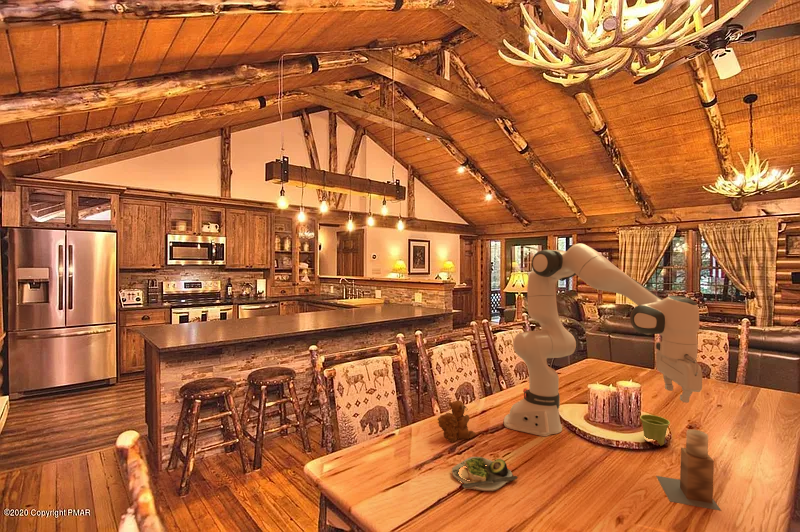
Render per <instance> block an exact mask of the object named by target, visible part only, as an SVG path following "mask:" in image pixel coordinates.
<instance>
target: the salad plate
mask: <svg viewBox="0 0 800 532" xmlns="http://www.w3.org/2000/svg"><path fill="white" fill-rule="evenodd" d="M485 465H487V466H485ZM463 466H466V467H467V468H468V469H467V468H466V469H467V475H468V479H469V478H470V481H467V480H465V479H466V478H465V479H463V478H464V477H463V478H461V477H460V476H459V474H458V472H459V469H460V468H461V467H463ZM451 475H452V477H453V478H454V479H456V481H458V480H459V481H461V482H462V483H464V484H462V483H461V484H462V486H461V487H462V488H463V489H467V490H470V489H471V490H475V489H476V490H477V491H483V492H485V491H486V492H493V491H497V490H499V489H500V488H502V487H503V486H505V485H507V484H509V483H510V482H512V481H515V480H517V479H518V478H519V476H518V475H514V474H513V472H512V470H511V469H509V468H508V465H507V463H506V461H505V460H503V459H501V458H497V459H494V460H493V461H492V460H491V459H488V458H486V457H483V456H470V457H468V458H466V459H464V460H463V461H461V462H459V463H457V464H456V465H454V466H453V467H452V468H451ZM459 481H458V482H459ZM506 483H507V484H506Z"/></svg>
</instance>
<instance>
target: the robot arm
mask: <svg viewBox="0 0 800 532" xmlns="http://www.w3.org/2000/svg"><path fill="white" fill-rule="evenodd" d="M531 268H532V271H531V272H529V275H528V279H527V290H526V291H527V292H526V295H527V309H528V316H529V317H530V318H531V319H532V320H533V321H535V322H537V323H538V324H539V326H540V328H541V330H528V331H527V330H526V331H522V332H520V333H517V334H516V335H515V337H514V339H513V342H512V345H513V350H514V353H516V355H517V356H518V357H519V358H520V359H522V360H523V362H524V363H525V365H526V367H527V370H528V377H529V378H528V379H529V380H528V381H529V389H528V387H524V388H523V389H522V391H523V398H522V399H521V400H519V401H516V402H515V403H513V404H512V405H511V408H510V411H509V413H508V414H506V415H505V416H504V417H503V425H504V427H505V428H507V429H511V430H514V431H517V432H518V431H519V432H522V433H527V434H531V435H536V436H540V437H548V436H549V435H553V434H554V435H555V434H559V433H561V432H562V431H563V427H562V424H561V423H562V422H561V419H560V410H559V409H560V403H561V402H560V401H561V399H560V397H561V395H560V393H559V379H560V377H559V374H558V373H557V371H556V370H555V369H554V368H552V367H550V366H548V362H547V361H548V359H556V358H558V359H559V358H561V359H562V358H565V357H568V356H571V355H573V354H574V353H575V351H576V349H577V348H576V347H577V341H576V338H575V336H574V335H573V334H572V333H571V332H570V331H569V330H567V329H566V328H565V327H564V324H563V323H562V321H561V320H560V315H559V312H558V305H557V291H556V285H557V283H558V281H561V282H563V281H565V280H567V279H570V278H573V277H575V276H578V278H579V279H580V280H581V281H583V282H584V283H585V284H586V285H588V286H589V287H591V288H593V289H595V290H598V291H601V292H602V291H603V292H611V293H615V294H619V295H621V296H624V297H626V298H628V299H629V300H630V301H632V302H633V303H634V304H635V305H636V306H635V307H633V308H632V310H631V312H630V315H629V320H630V324H631V326H632V327H633V329H634V331H636V332H638V333H640V334H643V335H660V336H661V341H657V342H655V345H654V346H655V349H656V351H655V352H656V354H655V365H656V369H657V371H658V372H659V373H661V374H662V375H663V376H662V377H663V381H664V388H665V390H666V391H668V392H669V391H670V392H673V391H674V385H673V382H674V383H675V384H677V385H678V386H680V387H681V390H682V393H681V394H680V395H679V400H680V401H681V402H682V403H685V404H688V403H689V402H690V397H691V396H692V394H693V393H694V392H695V393H701V392H702V391H703V371H702V367H701V365H700V364H698V363H699V362H698V361H697V359H698V349H699V348H698V347H699V340H698V333H699V330H700V309H699V305H698V303H697V302H696V301H694V300H693V299H692V298H688V297H685V296H681V295H669V296H667V297H665V298H661V297H660V296H659V295H657V294H655V293H654V292H653V291H651V290H650V289H648V288H647V287H646V286H645V285H643V284H641V283H640V282H639V281H637V280H636V279H634V278H633V277H632V276H630V275H628V274H627V273H625V272H624V271H623V270H621V269H620V268H618V267H617V266H616V265H615V264H614V263H612V262H611V261H610V260H609V259H608V258H606V257H605V256H604V255H602V254H601V253H600V252H599V251H597V250H595V249H594V248H593V247H591V246H588V244H587V245H586V244H585V243H582V242H581V243H579V242H578V243H575V244H572V245H571V246H570V247H569V248H568V249H567V250H561V249H543V250H540V251H537V252H536V253H535V254H534V255H533V256H532V259H531Z"/></svg>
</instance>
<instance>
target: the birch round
mask: <svg viewBox="0 0 800 532" xmlns="http://www.w3.org/2000/svg"><path fill="white" fill-rule="evenodd" d="M685 438H686V440H685V443H686V444H685V448H686V452H687V453H688V454H689V455H691V456H694V457H698V458H707V457H708V455H709V434H708V433H706V432H704V431H703V430H700V429H699V430H697V429H691V428H689V429H687V430H686V437H685Z"/></svg>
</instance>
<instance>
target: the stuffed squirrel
mask: <svg viewBox="0 0 800 532" xmlns="http://www.w3.org/2000/svg"><path fill="white" fill-rule="evenodd" d="M448 405H449V407H450V408H451V412H446V413H445V414H441V415H439V417H438V418H437V419H436V420H437V423H438V426H439V427H440V428H441V430H442V431H443V437H444V438H445V439H446V440H447V439H448V440H447V441H450V442H452V441H453V443H456V441H457V440H460V439H464V440H470V439H472V438H473V437H476V432H475V431H473V430H469V427H468V424H469V421H470V416H469V414H465V411H466V412H467V411H468V407H467V406H465V404H464V403H463V402H462V401H461V400H454V401H448ZM469 438H470V439H469ZM456 439H457V440H456Z"/></svg>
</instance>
